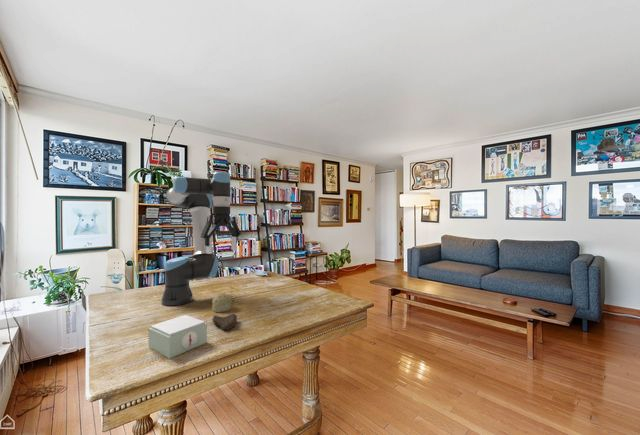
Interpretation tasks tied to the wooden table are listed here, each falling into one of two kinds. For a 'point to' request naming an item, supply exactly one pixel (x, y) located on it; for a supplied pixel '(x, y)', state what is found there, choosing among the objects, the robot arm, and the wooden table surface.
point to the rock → (225, 321)
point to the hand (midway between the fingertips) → (222, 251)
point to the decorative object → (221, 302)
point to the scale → (177, 335)
